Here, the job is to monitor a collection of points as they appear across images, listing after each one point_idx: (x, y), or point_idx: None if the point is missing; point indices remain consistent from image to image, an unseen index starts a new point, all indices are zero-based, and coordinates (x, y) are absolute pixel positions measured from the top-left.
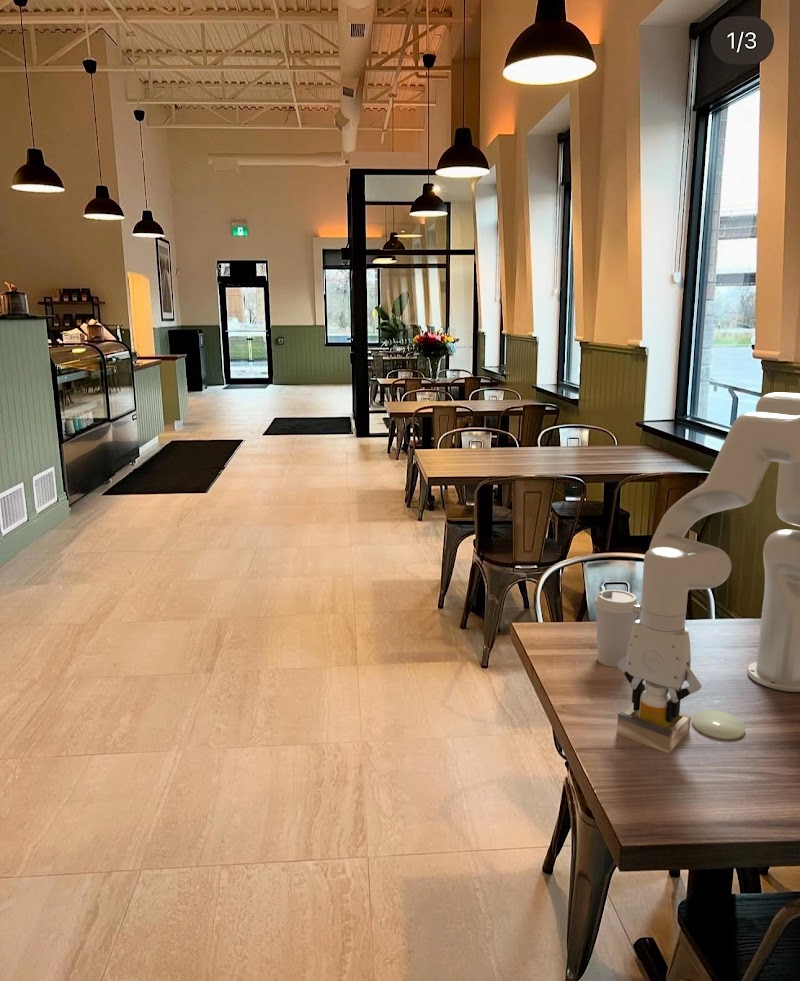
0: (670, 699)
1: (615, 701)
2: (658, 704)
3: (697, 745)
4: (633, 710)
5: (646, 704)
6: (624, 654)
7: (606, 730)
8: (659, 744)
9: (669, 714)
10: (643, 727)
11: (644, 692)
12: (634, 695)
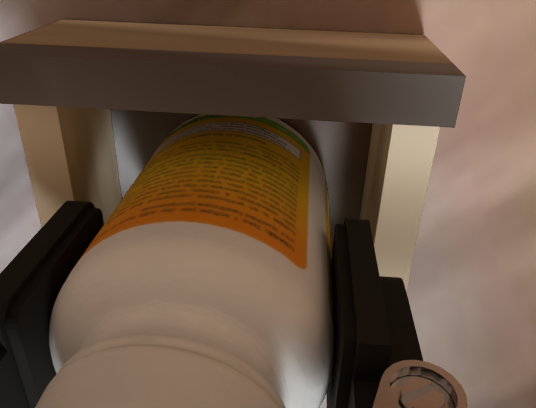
0: (4, 354)
1: (528, 365)
2: (101, 258)
3: (10, 204)
4: (381, 252)
5: (224, 228)
6: None
7: (504, 37)
8: (108, 27)
9: (43, 233)
10: (216, 52)
11: (290, 365)
12: (381, 302)
